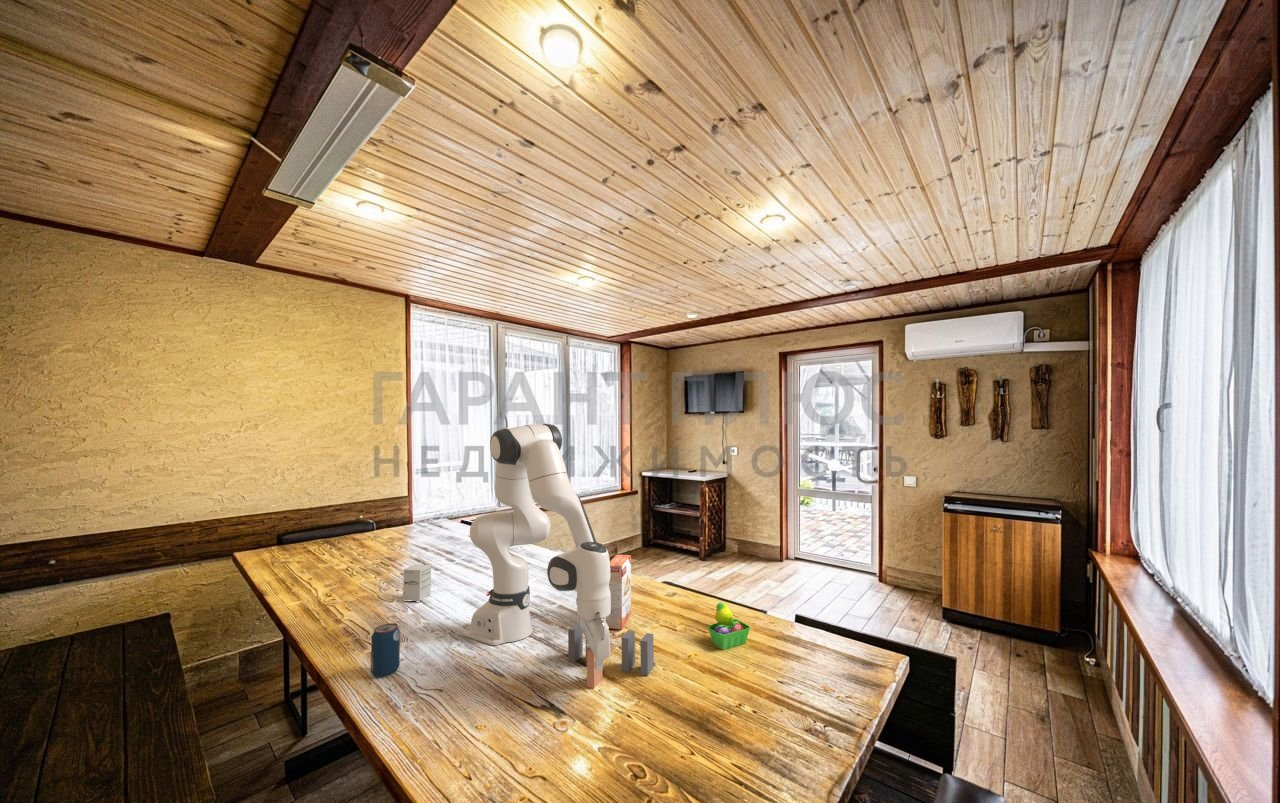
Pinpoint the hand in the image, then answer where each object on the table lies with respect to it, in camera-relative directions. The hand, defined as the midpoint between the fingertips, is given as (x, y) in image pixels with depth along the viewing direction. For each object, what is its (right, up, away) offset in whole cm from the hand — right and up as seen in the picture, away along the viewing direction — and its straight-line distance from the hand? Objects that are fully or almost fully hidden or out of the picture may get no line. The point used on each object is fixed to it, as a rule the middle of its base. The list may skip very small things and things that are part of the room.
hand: (594, 661), depth 121 cm
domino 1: (-7, -7, +13) cm, 16 cm away
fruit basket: (+39, -7, +22) cm, 45 cm away
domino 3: (0, -6, 0) cm, 6 cm away
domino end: (+14, -6, +6) cm, 16 cm away
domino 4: (+9, -6, +8) cm, 13 cm away
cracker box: (+5, -8, +39) cm, 40 cm away
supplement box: (-76, -11, +62) cm, 99 cm away
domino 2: (-2, -6, +11) cm, 13 cm away
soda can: (-58, -7, +7) cm, 59 cm away
